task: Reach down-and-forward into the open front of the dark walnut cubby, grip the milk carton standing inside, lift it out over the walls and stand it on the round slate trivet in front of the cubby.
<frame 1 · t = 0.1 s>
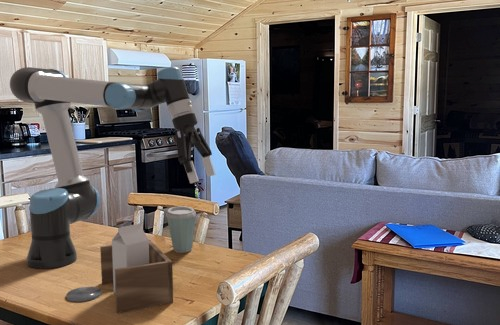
hand: (203, 179, 151), 28 cm above the table, tool tilted 20°, fingers open, 13 cm apart
walnut cubby: (135, 292, 131), on the table
slate trivet: (84, 295, 129), on the table
disposable coffee cup: (181, 250, 168), on the table
milk carton: (132, 293, 131), resting in walnut cubby
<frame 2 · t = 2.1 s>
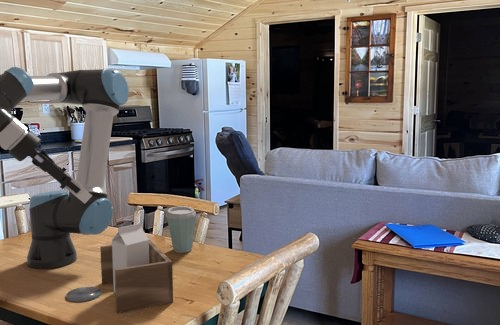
hand: (84, 194, 126), 28 cm above the table, tool tilted 45°, fingers open, 13 cm apart
nothing on the table moved.
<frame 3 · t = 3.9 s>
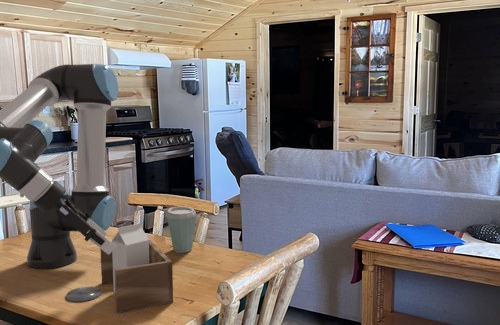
hand: (107, 243, 125), 15 cm above the table, tool tilted 45°, fingers open, 13 cm apart
nothing on the table moved.
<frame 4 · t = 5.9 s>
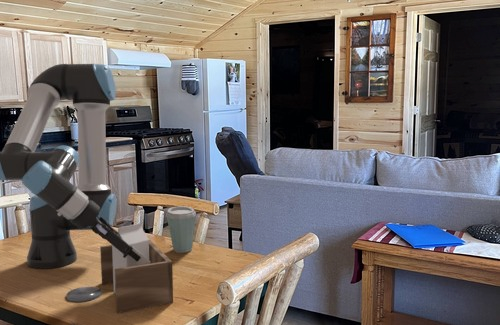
hand: (142, 260, 131), 9 cm above the table, tool tilted 45°, fingers closed on milk carton, 9 cm apart
milk carton: (132, 293, 131), resting in walnut cubby, touching gripper
everything else where it was.
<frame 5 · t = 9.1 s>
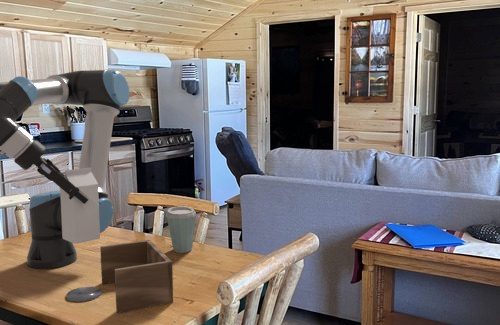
hand: (92, 205, 127), 24 cm above the table, tool tilted 45°, fingers closed on milk carton, 9 cm apart
milk carton: (81, 240, 127), point 15 cm above the table, touching gripper
everything else where it was.
when the fingers open (10 cm above the table, at t = 12.1 s): milk carton stays where it is, resting on slate trivet.
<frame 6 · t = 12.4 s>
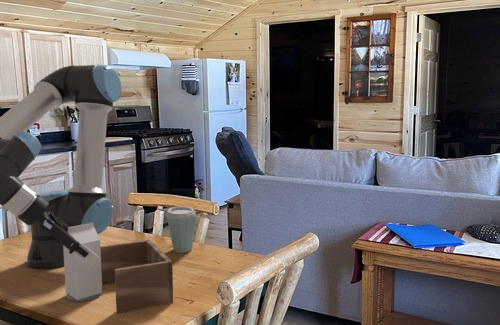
hand: (92, 255, 129), 11 cm above the table, tool tilted 45°, fingers open, 12 cm apart
milk carton: (83, 294, 129), resting on slate trivet
everything else where it was.
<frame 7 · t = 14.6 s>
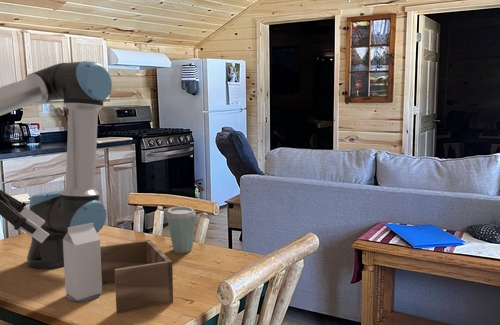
hand: (43, 231, 123), 19 cm above the table, tool tilted 45°, fingers open, 13 cm apart
nothing on the table moved.
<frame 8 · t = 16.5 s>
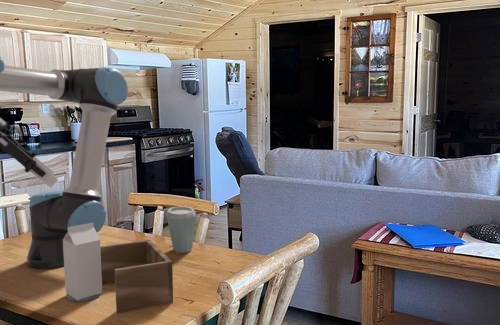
hand: (52, 179, 126), 32 cm above the table, tool tilted 45°, fingers open, 13 cm apart
nothing on the table moved.
at the end: milk carton inside the target area (0.3 cm from its centre), resting on slate trivet; milk carton tilted 0°; the gripper is holding nothing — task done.
